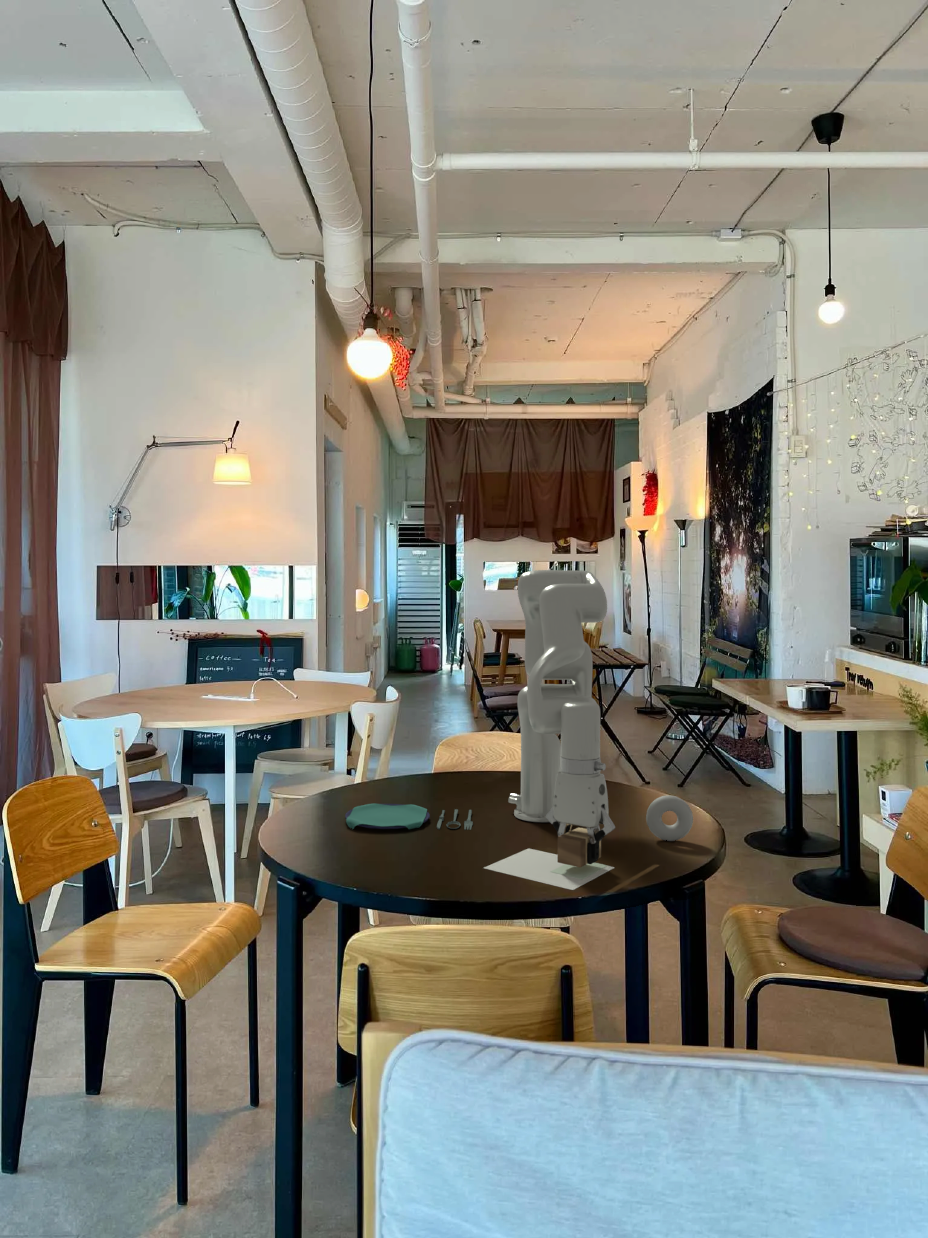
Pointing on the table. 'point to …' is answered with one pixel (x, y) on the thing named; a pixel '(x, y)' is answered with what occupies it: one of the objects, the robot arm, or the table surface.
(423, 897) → the table surface
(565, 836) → the oak block
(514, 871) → the grey mat
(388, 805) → the cutlery set
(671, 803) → the donut
